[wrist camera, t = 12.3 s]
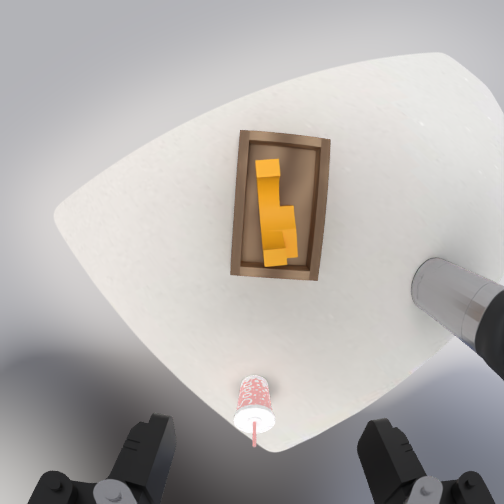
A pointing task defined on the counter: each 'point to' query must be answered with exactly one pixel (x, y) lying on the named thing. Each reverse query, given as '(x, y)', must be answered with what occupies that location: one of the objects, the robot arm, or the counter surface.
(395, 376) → the counter surface
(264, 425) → the beverage cup
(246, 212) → the wooden tray
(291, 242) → the pipe clamp
